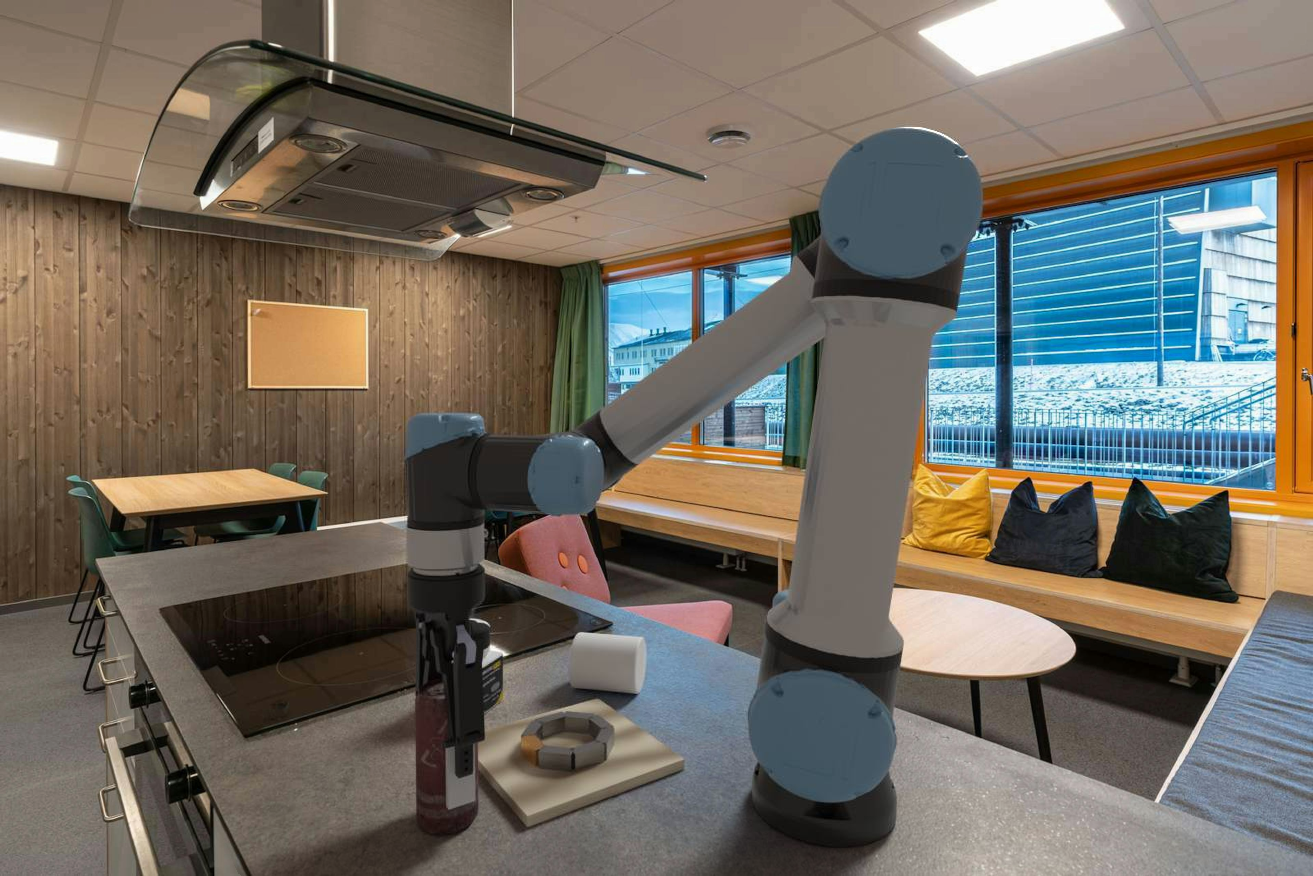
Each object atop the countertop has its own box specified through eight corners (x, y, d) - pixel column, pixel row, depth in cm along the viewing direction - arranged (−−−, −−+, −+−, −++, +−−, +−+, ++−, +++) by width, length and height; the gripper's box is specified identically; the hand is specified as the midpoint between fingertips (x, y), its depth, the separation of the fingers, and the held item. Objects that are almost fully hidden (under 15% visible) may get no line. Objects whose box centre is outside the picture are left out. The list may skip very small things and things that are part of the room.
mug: (634, 703, 102) (635, 648, 101) (567, 696, 104) (567, 642, 103) (652, 671, 113) (652, 621, 113) (591, 665, 115) (591, 617, 115)
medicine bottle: (475, 722, 95) (475, 633, 94) (430, 714, 97) (429, 627, 97) (504, 700, 102) (503, 617, 101) (461, 693, 104) (460, 612, 103)
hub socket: (628, 753, 85) (628, 737, 85) (548, 780, 79) (548, 763, 79) (584, 719, 93) (584, 705, 93) (509, 741, 87) (509, 726, 87)
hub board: (684, 768, 84) (684, 759, 84) (527, 827, 72) (527, 816, 72) (597, 706, 100) (597, 698, 100) (458, 746, 89) (458, 736, 88)
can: (492, 811, 75) (491, 681, 74) (446, 844, 69) (445, 704, 68) (451, 794, 78) (450, 669, 77) (403, 824, 72) (401, 690, 72)
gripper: (521, 582, 66) (522, 821, 68) (450, 544, 82) (452, 739, 84) (441, 594, 62) (443, 850, 63) (382, 552, 78) (385, 757, 79)
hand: (448, 786), depth 73 cm, fingers open, 6 cm apart
